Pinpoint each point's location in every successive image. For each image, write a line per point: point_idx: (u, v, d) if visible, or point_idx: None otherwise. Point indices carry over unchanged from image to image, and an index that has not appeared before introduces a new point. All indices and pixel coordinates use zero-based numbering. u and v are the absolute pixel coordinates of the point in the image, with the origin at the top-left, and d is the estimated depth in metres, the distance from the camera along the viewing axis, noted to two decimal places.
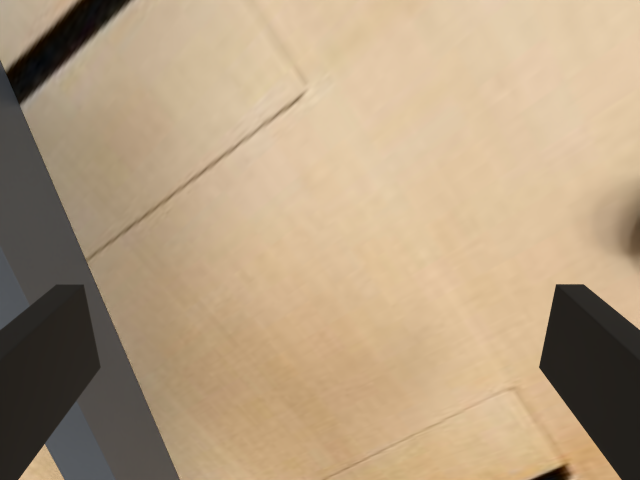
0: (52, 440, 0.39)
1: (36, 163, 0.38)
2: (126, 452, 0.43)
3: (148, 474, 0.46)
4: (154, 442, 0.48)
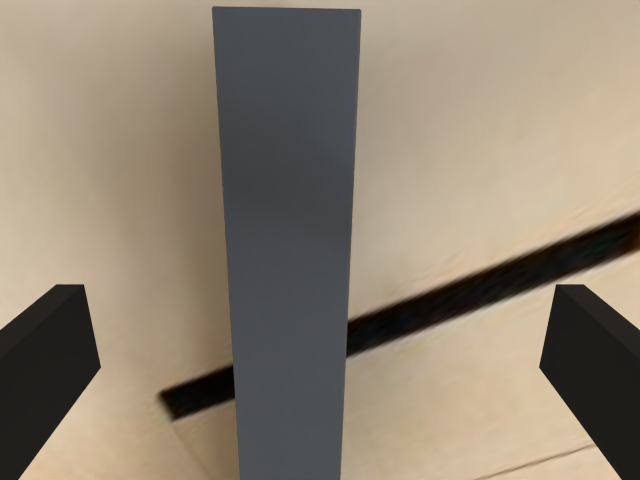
0: None
1: None
2: None
3: None
4: None
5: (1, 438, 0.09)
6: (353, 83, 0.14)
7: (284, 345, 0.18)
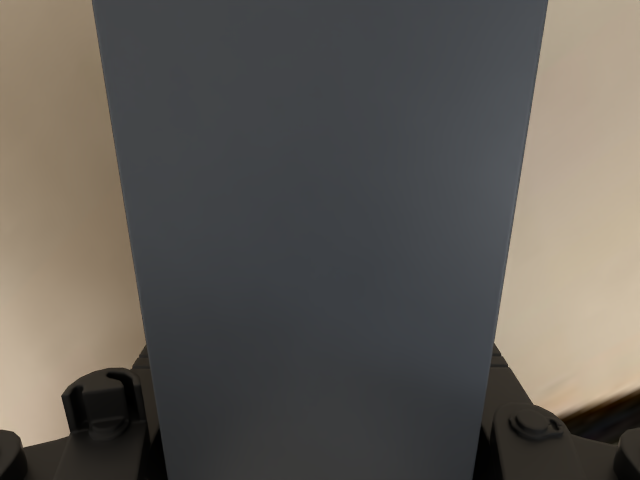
0: None
1: None
2: None
3: None
4: None
5: None
6: (505, 200, 0.05)
7: None
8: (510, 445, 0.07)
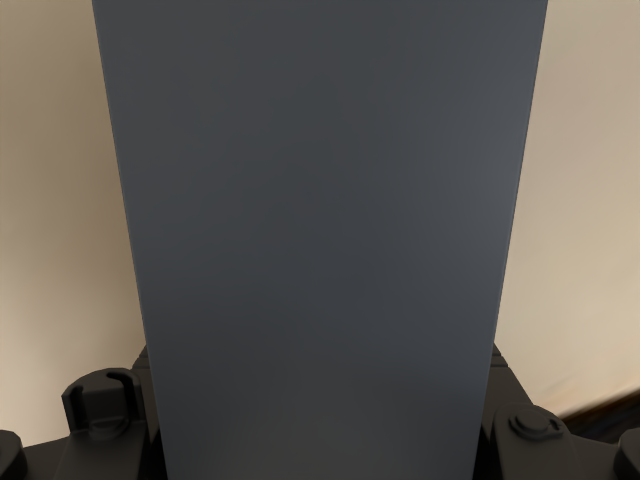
0: None
1: None
2: None
3: None
4: None
5: None
6: (505, 199, 0.05)
7: None
8: (510, 446, 0.07)
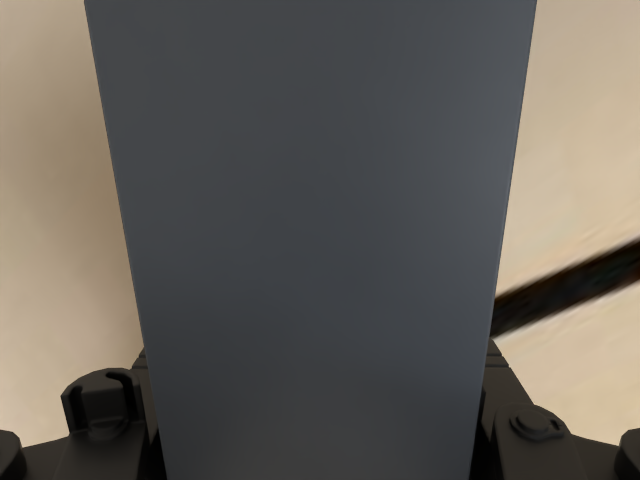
0: None
1: None
2: None
3: None
4: None
5: None
6: (497, 200, 0.05)
7: None
8: (510, 445, 0.07)
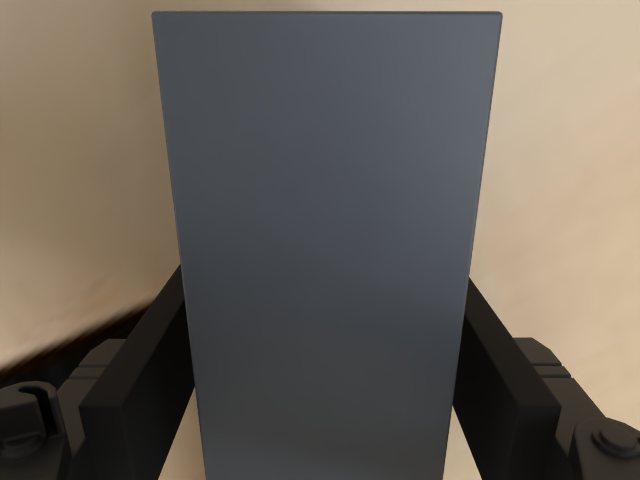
0: None
1: None
2: None
3: None
4: None
5: (174, 382, 0.11)
6: (472, 176, 0.06)
7: None
8: (593, 460, 0.07)
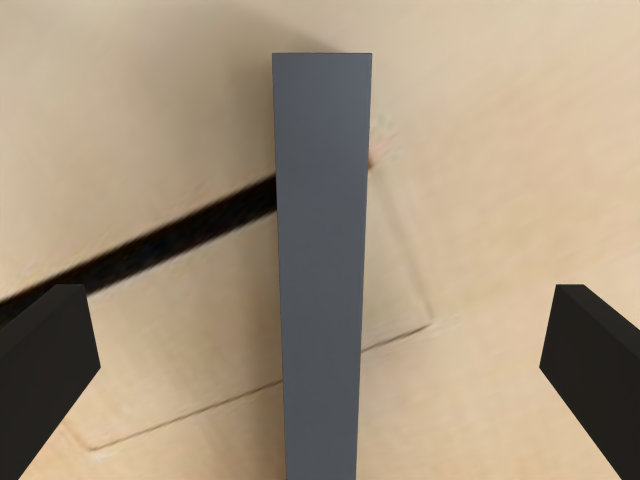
0: None
1: None
2: None
3: None
4: None
5: (1, 438, 0.09)
6: (367, 102, 0.21)
7: (318, 290, 0.24)
8: None
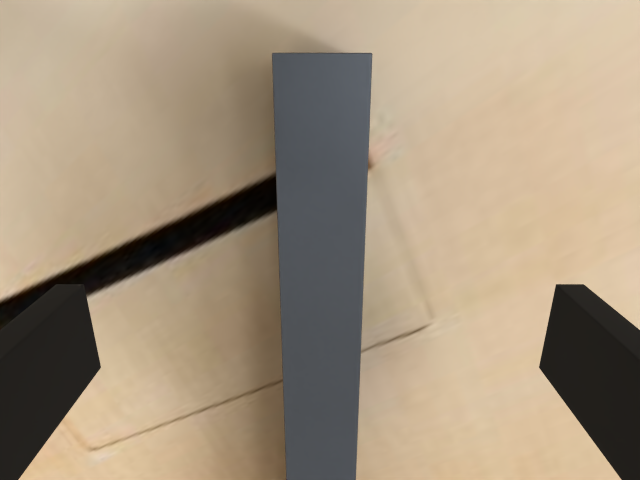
0: None
1: None
2: None
3: None
4: None
5: (1, 438, 0.09)
6: (367, 102, 0.21)
7: (318, 290, 0.24)
8: None
